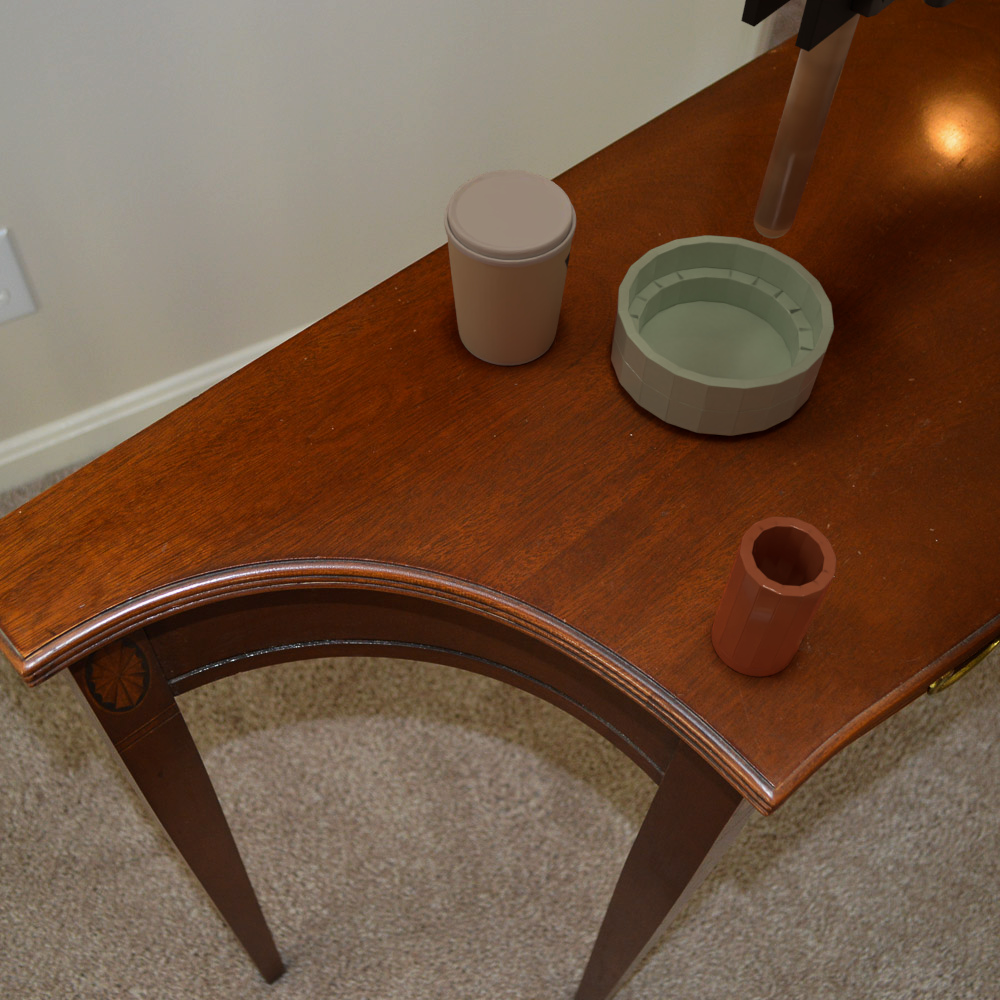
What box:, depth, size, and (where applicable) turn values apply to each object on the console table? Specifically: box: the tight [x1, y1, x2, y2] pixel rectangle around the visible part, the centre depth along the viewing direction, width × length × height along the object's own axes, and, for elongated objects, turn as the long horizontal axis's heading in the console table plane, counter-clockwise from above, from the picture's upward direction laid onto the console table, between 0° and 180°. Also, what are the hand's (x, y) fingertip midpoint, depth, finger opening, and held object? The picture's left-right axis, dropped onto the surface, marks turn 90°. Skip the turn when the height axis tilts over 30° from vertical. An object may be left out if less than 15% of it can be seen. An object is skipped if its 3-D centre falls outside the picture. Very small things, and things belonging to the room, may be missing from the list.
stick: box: [753, 14, 861, 239], centre depth 58 cm, size 2×2×24 cm
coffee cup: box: [443, 169, 577, 367], centre depth 81 cm, size 9×9×12 cm
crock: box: [710, 516, 837, 678], centre depth 66 cm, size 5×6×10 cm
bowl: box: [610, 234, 835, 437], centre depth 82 cm, size 16×16×6 cm
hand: (781, 9), depth 51 cm, fingers closed on stick, 2 cm apart
